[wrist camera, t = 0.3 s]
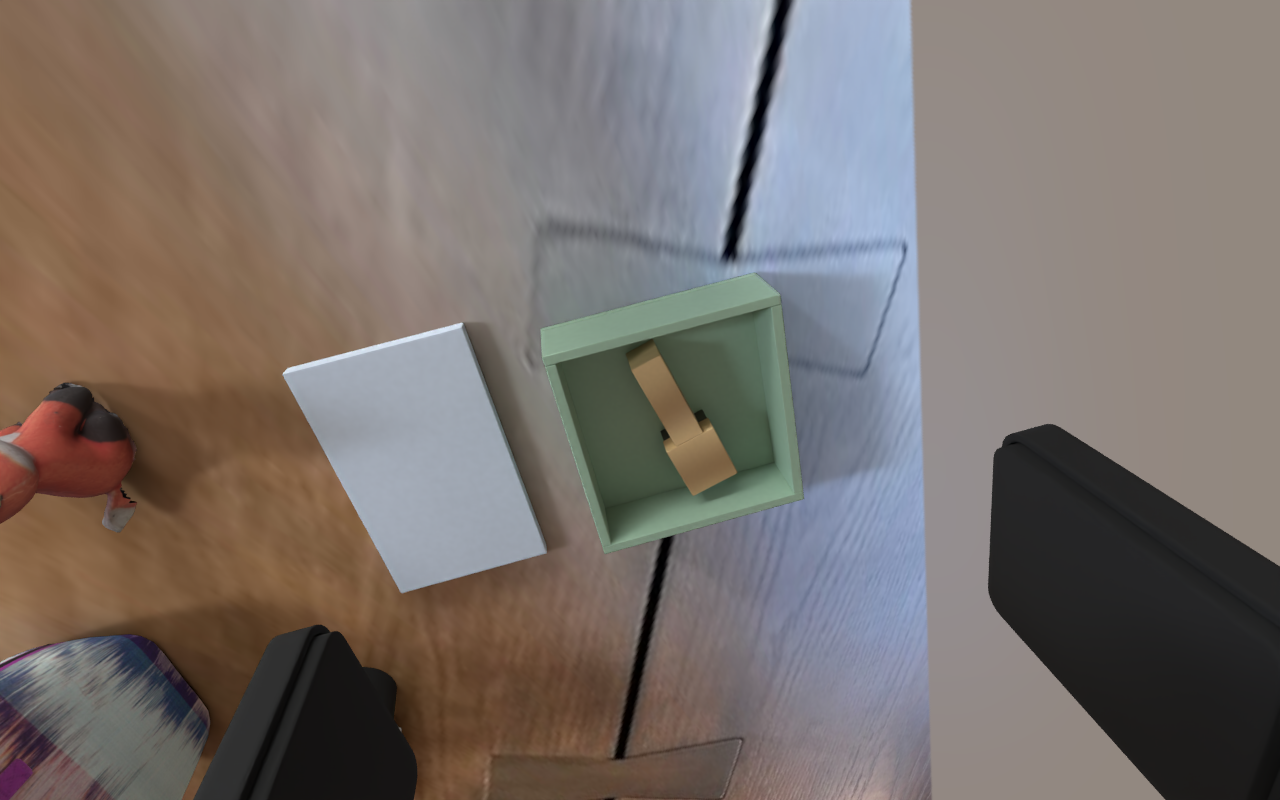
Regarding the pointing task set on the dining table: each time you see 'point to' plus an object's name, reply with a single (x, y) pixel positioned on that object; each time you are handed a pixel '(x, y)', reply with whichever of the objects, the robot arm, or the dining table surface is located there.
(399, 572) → the mat
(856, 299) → the dining table surface
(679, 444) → the brush
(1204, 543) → the robot arm
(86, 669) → the handbag
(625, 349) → the basket
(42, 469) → the stuffed fox
